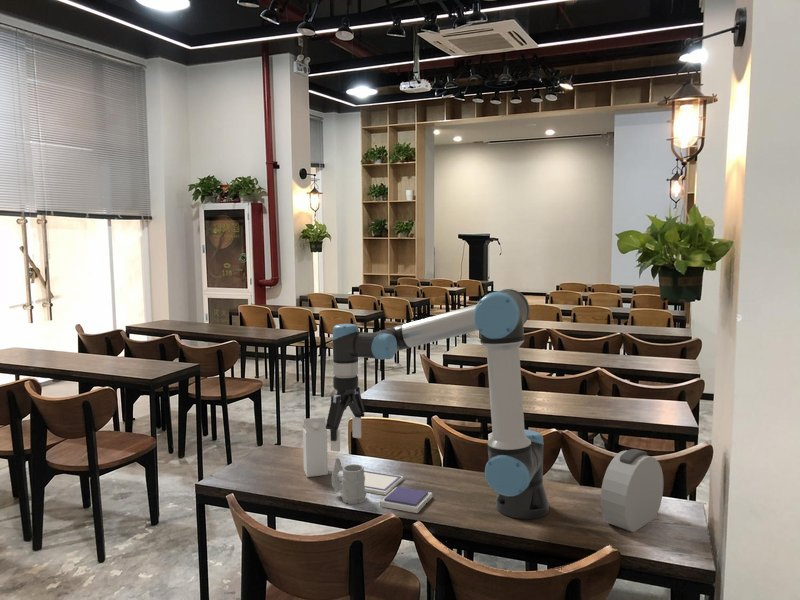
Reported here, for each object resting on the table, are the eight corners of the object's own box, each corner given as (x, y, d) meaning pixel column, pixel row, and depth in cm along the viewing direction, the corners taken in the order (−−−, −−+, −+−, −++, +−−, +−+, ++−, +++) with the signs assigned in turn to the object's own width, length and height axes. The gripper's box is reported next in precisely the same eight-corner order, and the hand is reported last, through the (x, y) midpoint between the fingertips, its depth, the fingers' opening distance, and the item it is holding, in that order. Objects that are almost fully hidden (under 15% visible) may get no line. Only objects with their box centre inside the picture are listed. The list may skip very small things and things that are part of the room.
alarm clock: (638, 505, 181) (639, 439, 179) (662, 513, 175) (664, 445, 173) (599, 527, 167) (601, 456, 165) (625, 537, 161) (627, 464, 159)
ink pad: (432, 497, 187) (432, 490, 187) (417, 513, 176) (417, 506, 176) (396, 491, 192) (396, 484, 192) (379, 506, 181) (379, 499, 181)
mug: (357, 506, 181) (357, 467, 180) (325, 498, 187) (324, 460, 186) (371, 497, 188) (370, 459, 187) (339, 490, 194) (338, 453, 193)
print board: (403, 479, 202) (403, 475, 202) (385, 495, 189) (385, 491, 189) (360, 472, 209) (360, 468, 208) (340, 487, 196) (339, 483, 196)
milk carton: (303, 470, 211) (302, 416, 209) (324, 467, 213) (323, 414, 211) (306, 477, 204) (305, 422, 203) (327, 475, 206) (326, 420, 205)
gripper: (354, 366, 197) (354, 430, 199) (312, 382, 175) (314, 455, 177) (375, 368, 194) (375, 433, 196) (335, 385, 172) (336, 458, 174)
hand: (346, 444), depth 186 cm, fingers open, 13 cm apart
